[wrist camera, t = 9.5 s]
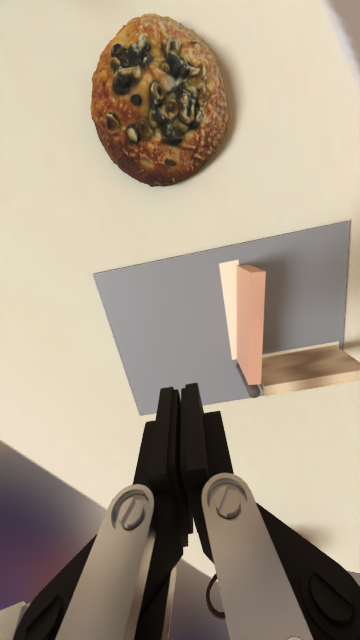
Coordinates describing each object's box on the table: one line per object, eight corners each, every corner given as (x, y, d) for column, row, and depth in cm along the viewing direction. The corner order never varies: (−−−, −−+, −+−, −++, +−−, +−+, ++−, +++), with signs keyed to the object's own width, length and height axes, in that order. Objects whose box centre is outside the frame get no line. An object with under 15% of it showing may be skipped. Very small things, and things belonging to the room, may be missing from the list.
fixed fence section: (334, 344, 27) (368, 368, 22) (334, 353, 27) (367, 379, 22) (235, 362, 27) (248, 389, 22) (236, 370, 28) (249, 398, 23)
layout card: (348, 220, 22) (350, 220, 22) (339, 381, 29) (341, 382, 28) (93, 273, 24) (92, 274, 23) (140, 414, 30) (139, 415, 30)
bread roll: (108, 196, 21) (89, 173, 16) (87, 51, 19) (58, -26, 14) (226, 185, 21) (242, 160, 17) (219, 40, 19) (236, -39, 14)
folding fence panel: (247, 359, 27) (260, 384, 22) (236, 359, 27) (248, 385, 22) (248, 264, 23) (265, 271, 18) (236, 265, 23) (251, 272, 18)
